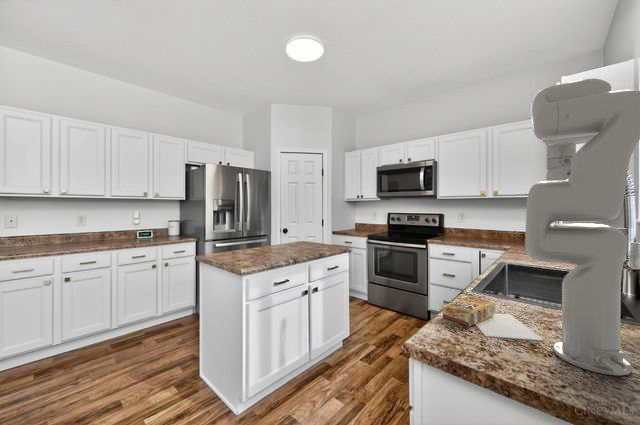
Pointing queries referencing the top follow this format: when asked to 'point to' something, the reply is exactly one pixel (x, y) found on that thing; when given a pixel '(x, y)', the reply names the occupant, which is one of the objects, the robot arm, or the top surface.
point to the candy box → (469, 310)
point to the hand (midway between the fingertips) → (560, 216)
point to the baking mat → (506, 328)
